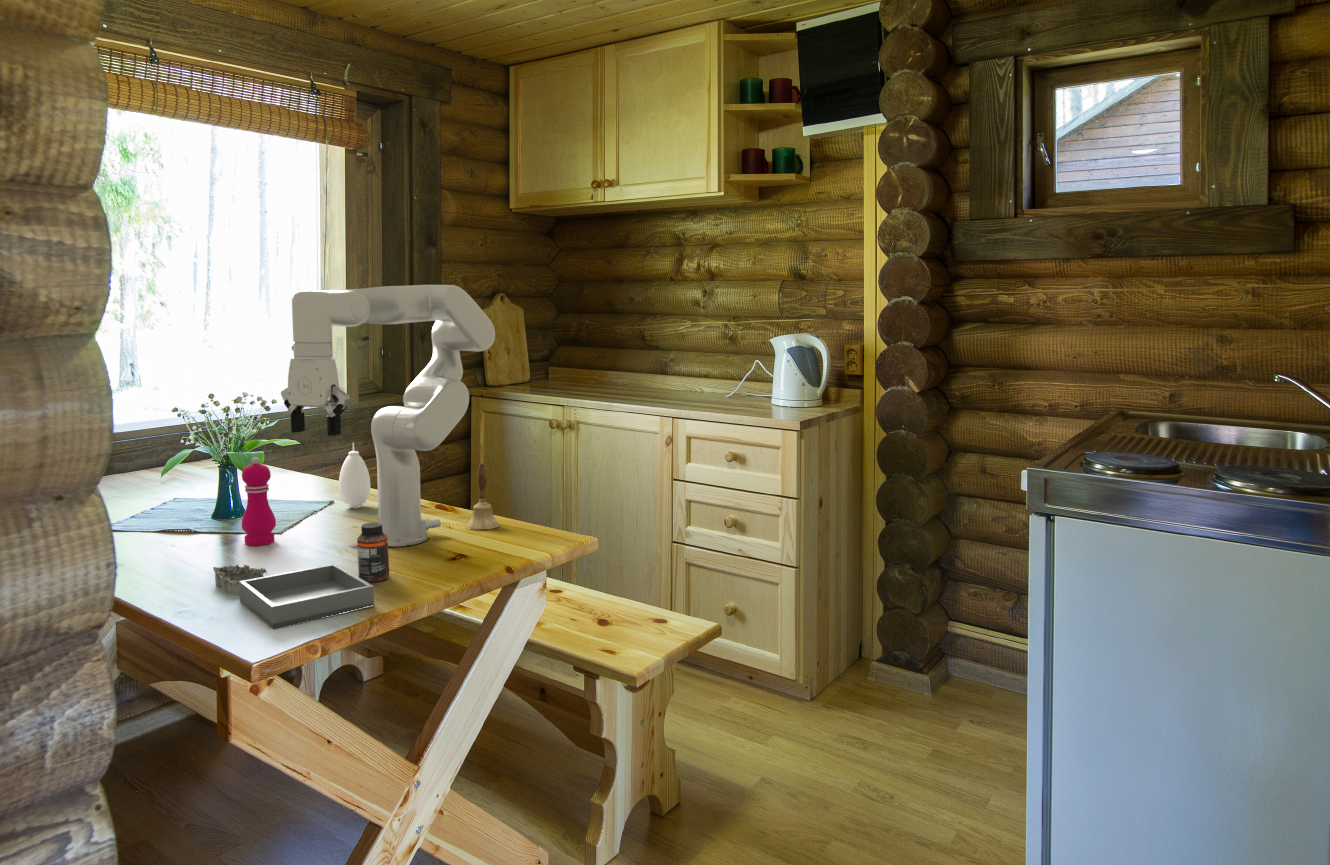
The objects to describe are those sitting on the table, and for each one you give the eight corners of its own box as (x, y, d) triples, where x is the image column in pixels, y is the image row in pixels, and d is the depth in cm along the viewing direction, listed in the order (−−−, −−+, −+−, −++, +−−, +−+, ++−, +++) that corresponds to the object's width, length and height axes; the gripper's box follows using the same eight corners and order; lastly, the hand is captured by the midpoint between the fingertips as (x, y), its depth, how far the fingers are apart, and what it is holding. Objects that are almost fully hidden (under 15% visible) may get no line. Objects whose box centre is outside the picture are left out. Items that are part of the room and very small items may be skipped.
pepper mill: (263, 547, 202) (259, 460, 199) (235, 545, 203) (230, 459, 200) (283, 539, 209) (279, 455, 206) (255, 537, 210) (251, 453, 207)
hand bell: (460, 525, 224) (459, 463, 222) (489, 520, 230) (488, 459, 227) (475, 532, 218) (474, 468, 216) (505, 527, 223) (505, 464, 221)
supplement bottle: (378, 572, 185) (376, 519, 183) (395, 578, 181) (393, 524, 180) (352, 579, 180) (350, 524, 179) (369, 585, 177) (367, 529, 175)
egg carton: (269, 590, 174) (268, 570, 173) (228, 598, 169) (227, 577, 168) (251, 576, 182) (250, 557, 181) (211, 584, 177) (210, 564, 176)
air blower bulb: (376, 507, 242) (374, 441, 240) (353, 512, 236) (350, 445, 233) (357, 503, 247) (355, 438, 244) (333, 508, 240) (331, 442, 237)
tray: (336, 583, 178) (335, 563, 177) (374, 606, 164) (373, 586, 164) (240, 602, 166) (239, 581, 165) (272, 629, 153) (271, 607, 152)
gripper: (267, 350, 184) (270, 432, 186) (333, 353, 177) (335, 438, 180) (294, 349, 190) (297, 428, 193) (359, 352, 184) (361, 434, 186)
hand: (316, 433), depth 186 cm, fingers open, 9 cm apart
